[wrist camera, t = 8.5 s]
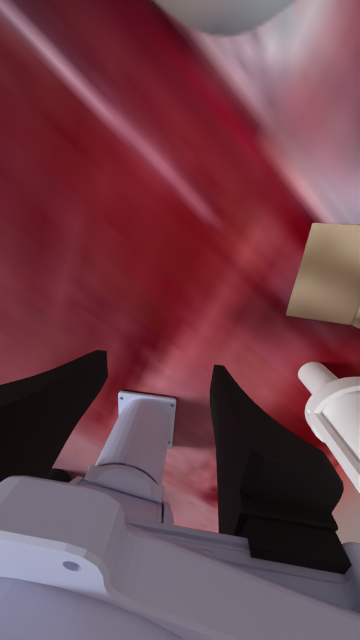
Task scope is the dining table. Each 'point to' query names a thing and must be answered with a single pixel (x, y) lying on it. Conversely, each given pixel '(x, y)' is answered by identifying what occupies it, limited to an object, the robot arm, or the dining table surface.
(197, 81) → the dining table surface
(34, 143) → the dining table surface
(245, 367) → the dining table surface
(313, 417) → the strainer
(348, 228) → the dock
